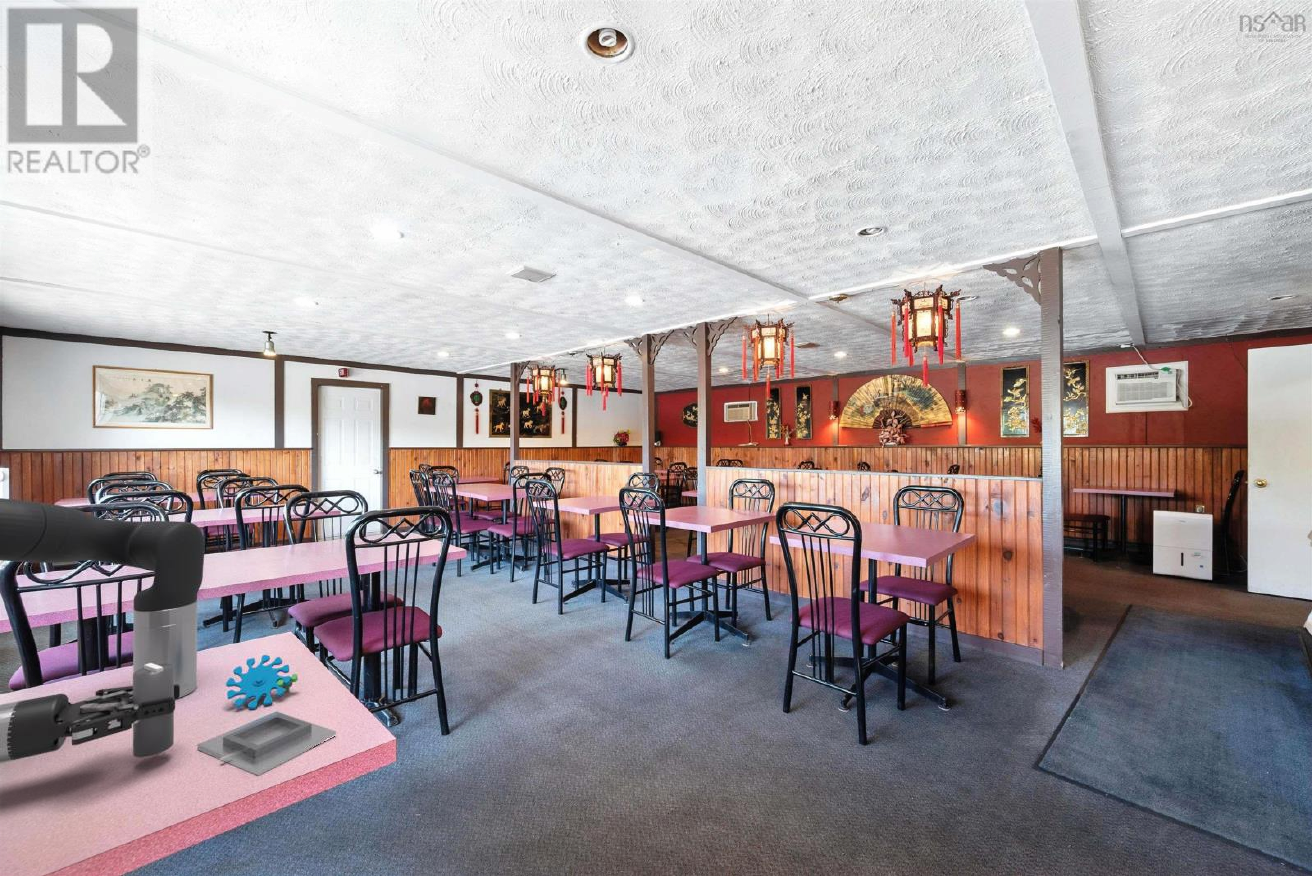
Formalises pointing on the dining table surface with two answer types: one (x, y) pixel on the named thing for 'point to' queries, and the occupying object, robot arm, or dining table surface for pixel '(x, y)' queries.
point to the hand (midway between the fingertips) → (176, 697)
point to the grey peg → (160, 729)
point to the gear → (260, 682)
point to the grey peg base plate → (265, 742)
